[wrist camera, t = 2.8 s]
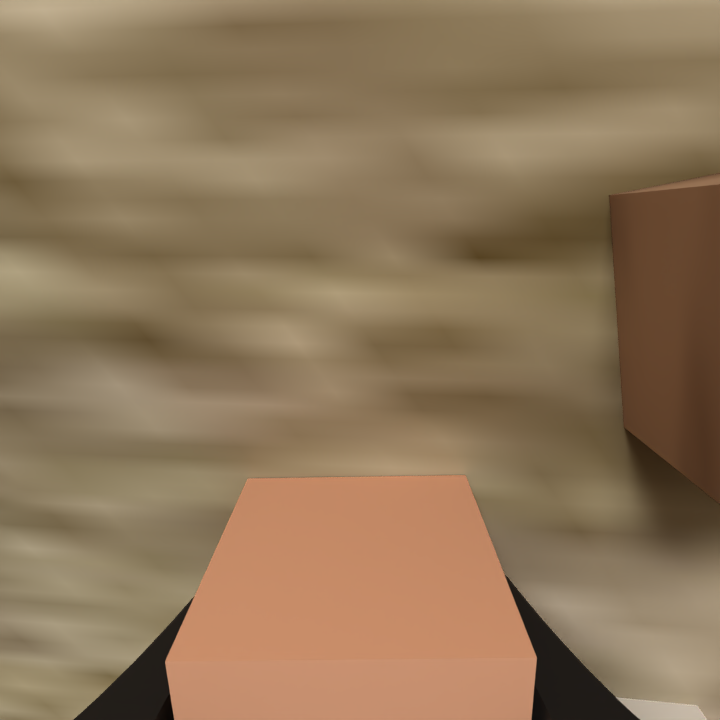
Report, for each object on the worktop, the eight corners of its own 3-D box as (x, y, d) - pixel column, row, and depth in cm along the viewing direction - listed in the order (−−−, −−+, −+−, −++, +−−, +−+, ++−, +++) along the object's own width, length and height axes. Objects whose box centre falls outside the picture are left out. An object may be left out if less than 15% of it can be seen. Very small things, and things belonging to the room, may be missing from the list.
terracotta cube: (465, 475, 12) (537, 657, 7) (459, 651, 13) (514, 908, 8) (247, 479, 12) (164, 661, 7) (263, 653, 13) (204, 909, 8)
